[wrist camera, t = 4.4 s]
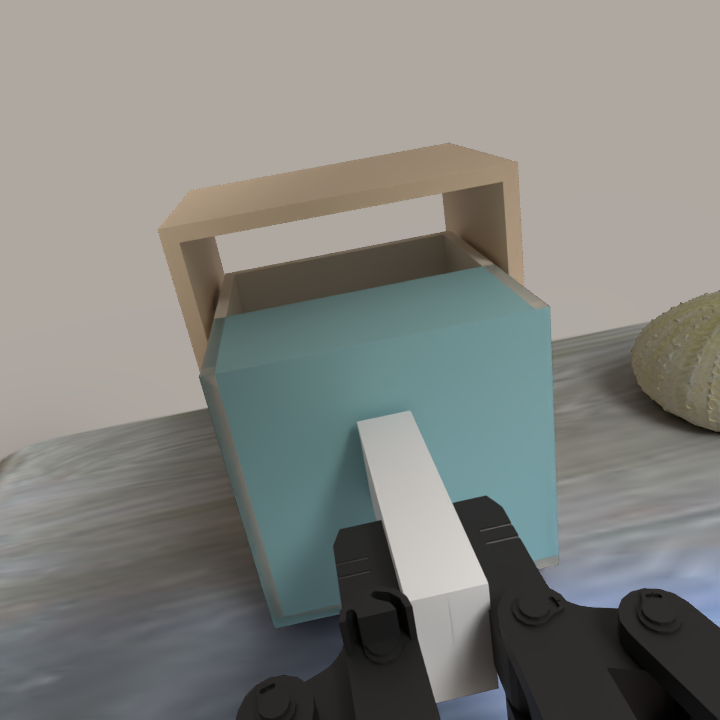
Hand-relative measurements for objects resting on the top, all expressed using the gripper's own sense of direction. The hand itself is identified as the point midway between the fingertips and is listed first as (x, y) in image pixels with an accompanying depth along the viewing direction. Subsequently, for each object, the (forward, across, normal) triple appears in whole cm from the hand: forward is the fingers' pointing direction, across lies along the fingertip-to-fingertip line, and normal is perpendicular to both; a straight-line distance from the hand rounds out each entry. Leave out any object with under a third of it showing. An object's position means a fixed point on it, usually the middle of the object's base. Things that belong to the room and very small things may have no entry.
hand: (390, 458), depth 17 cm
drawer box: (+5, 0, -6) cm, 8 cm away
